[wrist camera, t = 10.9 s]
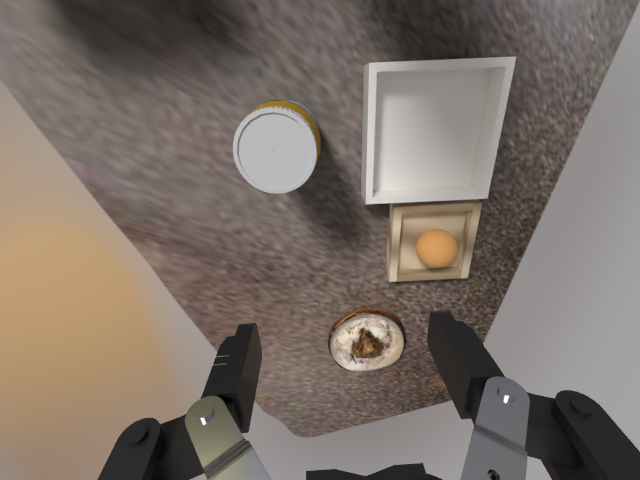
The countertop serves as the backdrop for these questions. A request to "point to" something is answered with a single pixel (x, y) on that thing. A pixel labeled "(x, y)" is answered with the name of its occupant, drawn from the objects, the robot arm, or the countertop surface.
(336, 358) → the sushi roll
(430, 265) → the ball
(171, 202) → the countertop surface
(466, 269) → the tray
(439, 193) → the dish
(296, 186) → the bottle
